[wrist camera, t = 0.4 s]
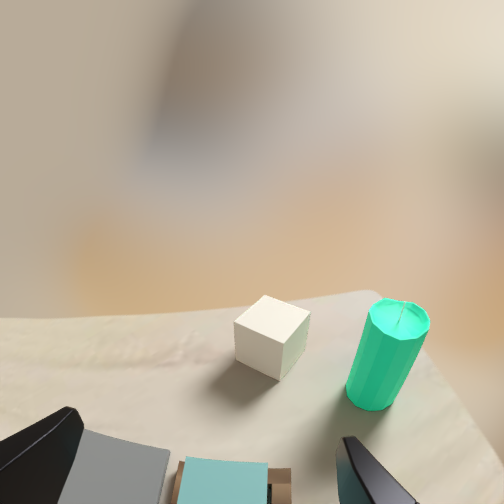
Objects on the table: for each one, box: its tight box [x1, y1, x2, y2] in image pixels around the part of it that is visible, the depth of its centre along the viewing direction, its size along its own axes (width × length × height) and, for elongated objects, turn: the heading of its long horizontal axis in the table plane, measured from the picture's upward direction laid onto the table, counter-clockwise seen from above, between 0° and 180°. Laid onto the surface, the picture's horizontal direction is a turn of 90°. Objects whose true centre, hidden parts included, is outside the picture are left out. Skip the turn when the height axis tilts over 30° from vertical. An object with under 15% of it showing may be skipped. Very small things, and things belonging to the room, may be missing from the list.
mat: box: [58, 429, 170, 504], centre depth 16 cm, size 12×11×1 cm
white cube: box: [234, 295, 311, 381], centre depth 32 cm, size 6×6×6 cm
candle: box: [346, 298, 430, 411], centre depth 25 cm, size 6×6×12 cm
